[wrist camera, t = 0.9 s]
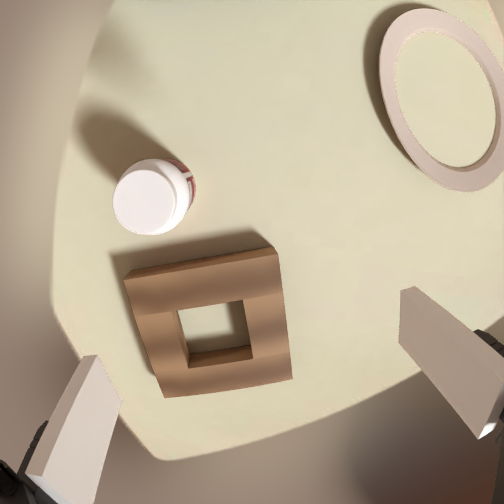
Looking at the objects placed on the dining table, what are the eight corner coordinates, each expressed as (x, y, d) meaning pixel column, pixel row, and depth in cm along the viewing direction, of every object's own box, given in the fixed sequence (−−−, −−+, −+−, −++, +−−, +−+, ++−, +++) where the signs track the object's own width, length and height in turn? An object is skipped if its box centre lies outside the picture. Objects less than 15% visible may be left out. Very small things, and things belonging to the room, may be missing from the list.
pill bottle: (127, 182, 31) (86, 192, 20) (175, 147, 30) (153, 139, 20) (160, 229, 33) (134, 260, 22) (208, 196, 32) (202, 212, 22)
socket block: (130, 270, 33) (123, 280, 31) (273, 246, 34) (278, 253, 31) (167, 383, 38) (164, 398, 35) (287, 364, 39) (292, 378, 36)
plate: (508, 66, 30) (516, 64, 28) (492, 211, 37) (501, 214, 35) (381, -17, 26) (388, -23, 24) (354, 155, 33) (361, 155, 31)
